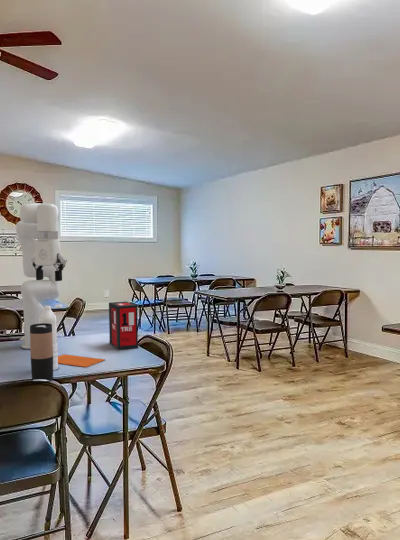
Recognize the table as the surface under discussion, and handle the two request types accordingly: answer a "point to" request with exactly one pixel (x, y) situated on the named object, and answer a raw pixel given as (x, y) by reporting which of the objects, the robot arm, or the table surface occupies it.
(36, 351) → the travel mug
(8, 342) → the table surface
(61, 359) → the cloth
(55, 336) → the water bottle
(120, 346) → the cleaning product box
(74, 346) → the table surface
